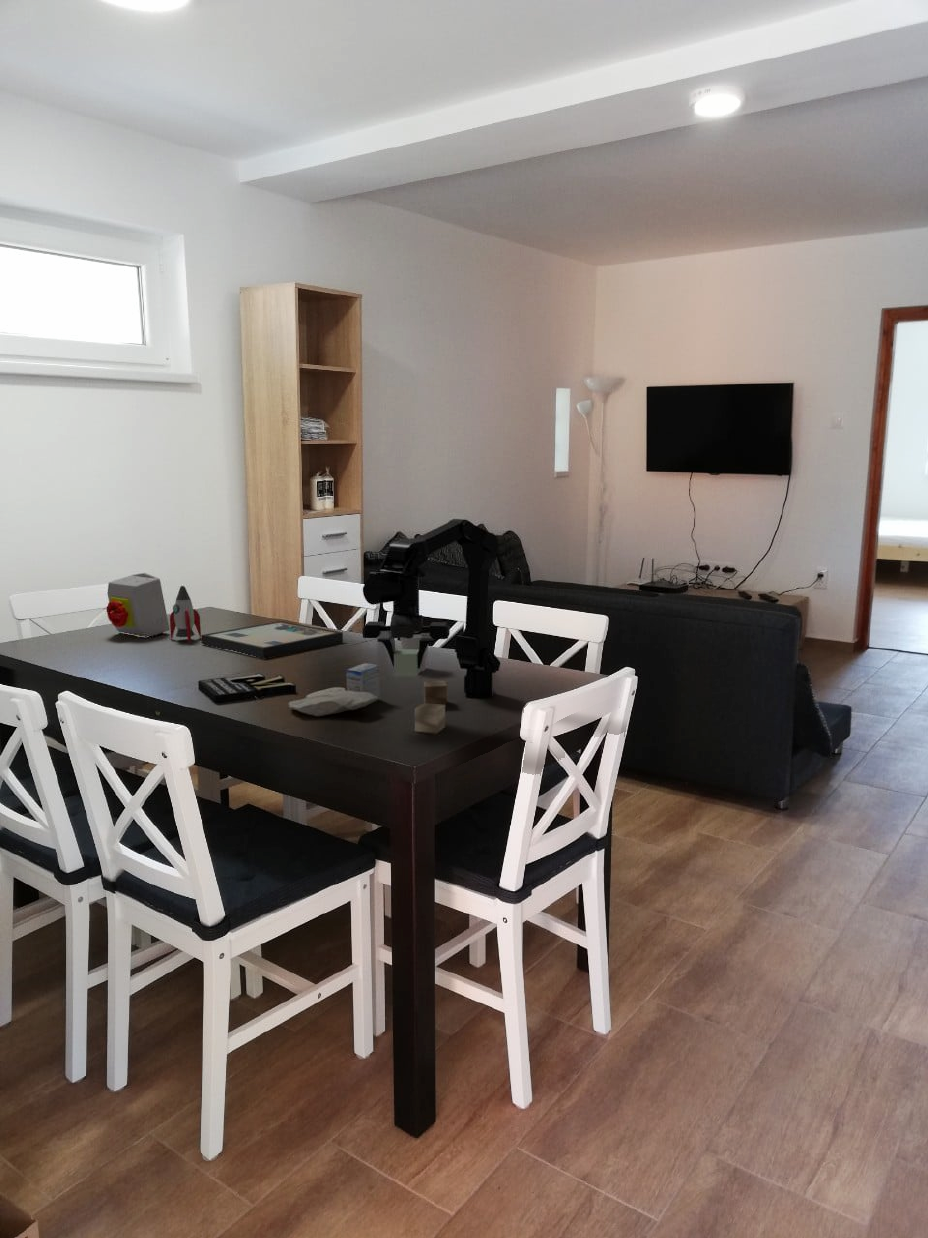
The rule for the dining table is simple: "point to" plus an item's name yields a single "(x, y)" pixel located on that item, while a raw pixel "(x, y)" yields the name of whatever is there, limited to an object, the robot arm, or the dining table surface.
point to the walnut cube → (435, 692)
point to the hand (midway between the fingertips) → (406, 668)
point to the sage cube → (406, 663)
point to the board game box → (273, 639)
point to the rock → (332, 701)
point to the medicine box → (364, 679)
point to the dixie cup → (414, 647)
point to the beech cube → (429, 718)
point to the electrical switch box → (137, 605)
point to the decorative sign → (244, 688)
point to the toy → (184, 616)
